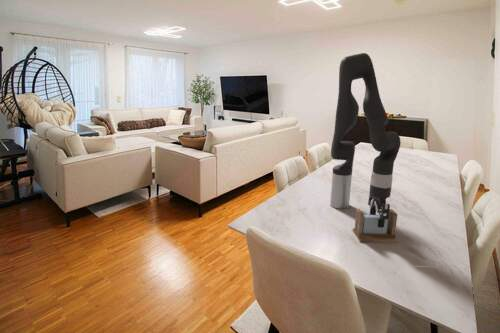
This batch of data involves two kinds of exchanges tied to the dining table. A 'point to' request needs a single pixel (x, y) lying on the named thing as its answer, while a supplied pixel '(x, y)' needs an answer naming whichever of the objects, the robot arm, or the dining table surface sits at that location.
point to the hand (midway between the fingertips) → (376, 222)
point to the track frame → (380, 238)
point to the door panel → (373, 225)
